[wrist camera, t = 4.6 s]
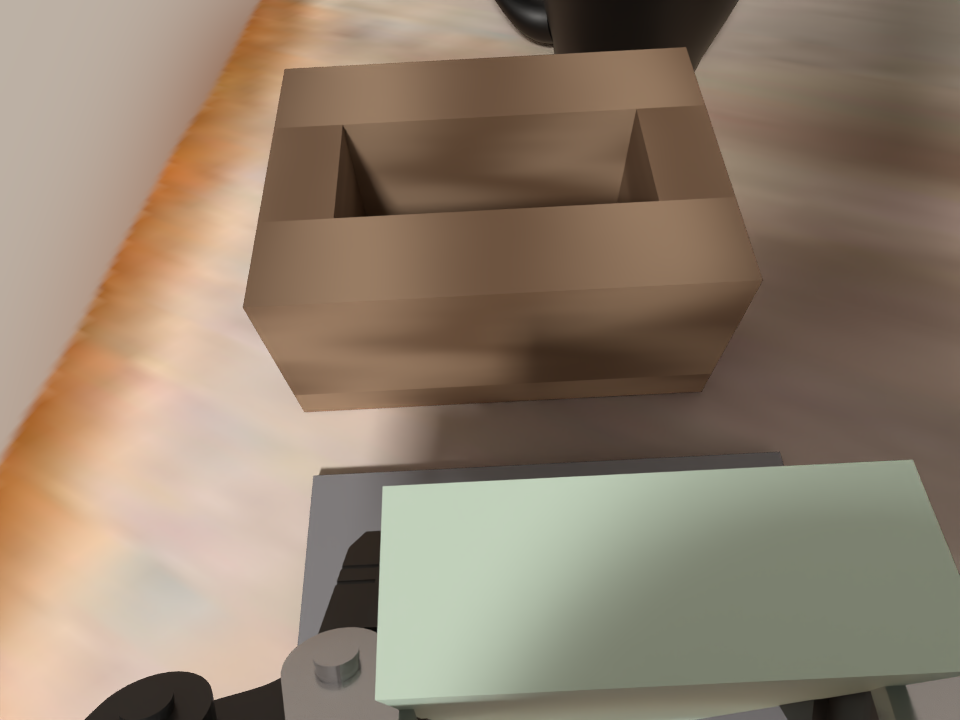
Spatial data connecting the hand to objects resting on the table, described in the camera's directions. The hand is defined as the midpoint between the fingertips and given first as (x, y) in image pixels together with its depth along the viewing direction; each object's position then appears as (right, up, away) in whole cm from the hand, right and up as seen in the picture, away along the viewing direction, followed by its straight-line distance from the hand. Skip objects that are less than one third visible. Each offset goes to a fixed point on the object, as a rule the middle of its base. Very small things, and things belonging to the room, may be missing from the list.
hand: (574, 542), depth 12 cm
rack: (-1, +6, +9) cm, 10 cm away
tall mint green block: (0, -4, +3) cm, 5 cm away
